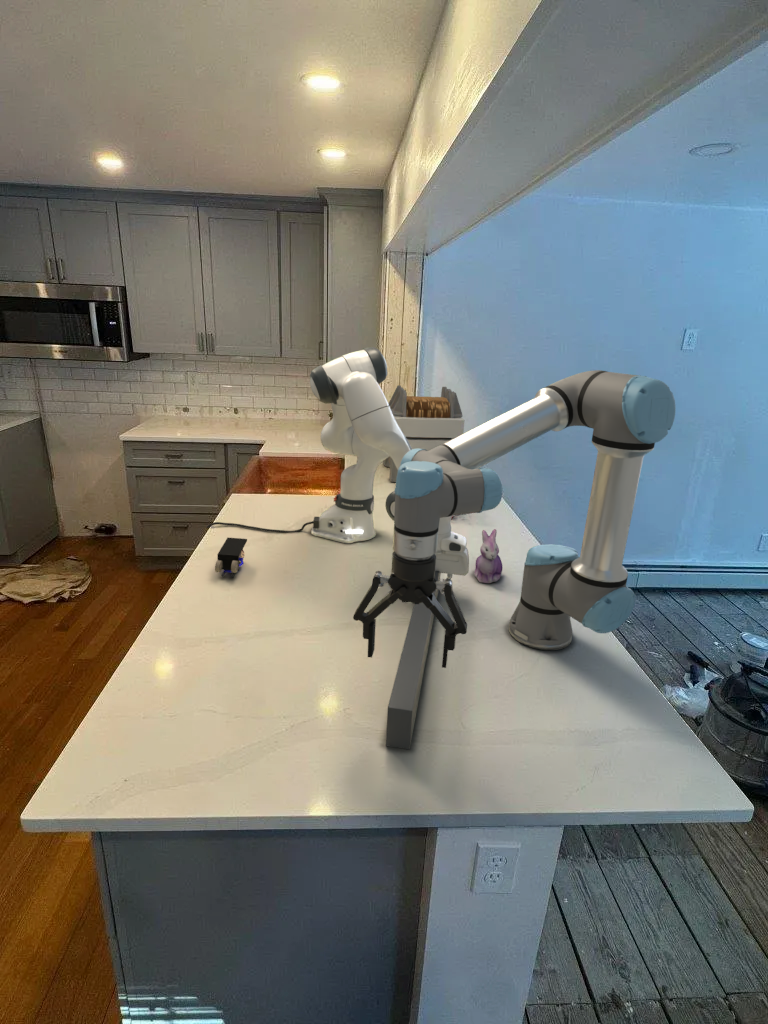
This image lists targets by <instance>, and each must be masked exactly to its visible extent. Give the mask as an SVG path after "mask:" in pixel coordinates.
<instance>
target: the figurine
mask: <svg viewBox="0 0 768 1024" xmlns="http://www.w3.org/2000/svg"><path fill="white" fill-rule="evenodd" d="M497 531H498V530H497V528H494V529H493V530H492V531H491V532H490V535H489V534H488V532H487V531H486V530H485V529H482V531H481V536H482V537H481V538H482V539H481V540H482V543H481V545H480V548H479V549H480V550H479V551H480V555H479V556H478V557H477V558H476V559H475V567H474V578H476V579H477V581H478V582H480V583H484V584H492V583H495V582H496V583H497V581H499V580H500V578H501V576H502V572H503V562H502V559H501V556H499V553H500V547H499V545H498V543H497V541H496V540H497V534H498V533H497Z"/></svg>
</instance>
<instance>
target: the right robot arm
mask: <svg viewBox="0 0 768 1024" xmlns="http://www.w3.org/2000/svg"><path fill="white" fill-rule="evenodd" d="M675 418H676V399H675V396H674V393H673V392H672V391H671V389H670V387H669V385H668V384H667V383H665V382H664V381H662V380H660V379H656V378H652V377H648V376H646V375H640V374H639V375H638V374H630V373H622V372H612V371H608V370H601V369H596V370H594V369H593V370H586V371H582V372H578V373H575V374H573V375H569V376H567V377H564V378H562V379H559V380H557V381H555V382H553V383H551V384H549V385H547V386H545V387H543V388H540V389H539V390H538V391H537V392H536V393H535V395H534V397H533V398H532V399H530V400H527V401H525V402H523V403H521V404H519V405H518V406H516V407H513V408H512V409H509V410H508V411H505V412H504V413H501V414H499V415H497V416H496V417H493V418H492V419H490V420H488V421H486V422H484V423H481V424H480V425H477V426H476V427H474V428H472V429H470V430H468V431H466V432H463V434H462V435H460V436H458V437H456V438H454V439H452V440H450V441H448V442H446V443H444V444H442V445H440V446H437V447H435V448H433V449H431V450H429V451H428V450H426V449H419V448H418V449H412V450H410V451H409V452H407V453H406V454H405V455H404V457H403V458H402V461H401V464H400V467H399V469H398V473H397V478H396V482H395V487H394V490H395V515H394V521H393V536H392V550H393V552H392V554H391V571H390V575H388V574H383V572H382V571H381V570H376V571H375V573H374V575H373V578H372V582H371V585H370V587H369V588H368V590H367V592H366V594H365V595H364V597H363V598H362V600H361V601H360V602H359V604H358V606H357V608H356V609H355V612H354V614H353V616H352V618H353V620H354V621H356V622H357V621H359V622H361V623H362V638H363V640H368V641H367V658H370V659H371V658H373V655H374V653H375V643H376V624H377V623H376V622H377V621H376V620H377V619H376V618H377V617H379V616H380V615H381V614H382V613H383V612H384V611H385V610H386V609H388V608H389V607H390V606H391V605H393V604H394V603H396V602H397V601H398V600H399V601H400V602H401V603H403V604H404V603H406V604H407V603H412V604H413V605H414V604H419V603H422V602H423V603H424V605H425V606H426V607H427V608H428V609H430V610H431V612H432V613H433V614H434V618H435V619H436V620H437V621H438V622H439V623H440V625H441V626H442V628H443V629H444V630H445V631H444V637H443V648H442V659H441V660H442V662H441V668H444V669H447V664H448V663H447V662H448V655H449V654H448V653H449V651H454V650H455V648H456V647H455V646H456V637H457V635H459V634H461V635H466V634H467V632H468V631H467V629H468V623H467V620H466V618H465V616H464V613H463V611H462V609H461V606H460V605H459V603H458V600H457V598H456V596H455V593H454V591H453V580H452V578H451V579H447V580H446V581H443V580H442V581H441V580H440V581H436V580H435V565H436V555H435V553H436V552H437V541H438V528H439V521H440V518H442V517H449V516H453V517H455V516H462V515H463V516H464V515H469V514H481V513H482V512H485V511H490V510H493V509H495V508H497V507H498V506H499V504H500V503H501V501H502V497H503V491H504V488H503V483H502V479H501V478H500V476H499V474H498V473H497V472H496V471H495V470H494V469H492V468H484V466H485V465H488V464H490V463H492V462H494V461H495V460H497V459H499V458H502V456H505V455H506V454H508V453H511V452H513V451H514V450H516V449H518V448H520V447H522V446H524V445H526V444H528V443H530V442H531V441H533V440H535V439H538V438H539V437H541V436H543V435H545V434H547V433H548V432H550V431H552V432H560V431H563V430H565V429H566V428H570V427H587V428H589V429H592V434H591V435H592V436H591V443H592V445H593V447H595V449H596V450H597V454H596V459H595V466H594V472H593V476H592V477H593V479H592V484H591V489H590V496H589V502H588V507H587V514H586V519H585V525H584V531H583V537H582V542H581V547H580V548H581V550H580V555H579V552H578V551H577V550H576V549H575V548H573V547H570V546H567V545H562V544H554V543H553V544H552V543H551V544H550V543H548V544H537V545H535V546H532V547H531V548H529V550H527V553H526V558H525V561H524V566H523V574H522V580H521V581H522V584H521V591H520V599H519V603H518V604H517V606H516V607H515V610H514V612H513V613H512V615H511V617H510V620H509V623H508V632H509V634H510V635H511V637H512V638H513V639H514V640H515V641H517V642H519V643H520V644H521V645H524V646H525V647H529V648H533V649H536V650H540V651H557V650H562V649H565V648H567V647H569V646H570V644H571V643H572V640H573V628H572V621H571V618H572V619H573V620H575V621H577V622H578V623H580V624H581V626H582V627H584V628H587V629H589V630H592V631H593V632H595V633H597V634H608V633H612V632H613V631H615V630H617V629H618V628H620V627H621V626H622V625H623V624H624V623H625V622H626V621H627V620H628V618H629V617H630V616H631V614H632V612H633V611H634V608H635V605H636V597H637V596H636V594H635V592H634V591H633V590H632V588H630V587H629V586H627V583H628V578H629V572H628V570H627V568H626V567H625V566H624V564H623V563H624V558H625V552H626V548H627V543H628V537H629V534H630V533H629V532H630V528H631V522H632V518H633V517H632V516H633V512H634V509H635V508H634V507H635V502H636V496H637V493H638V487H639V481H640V477H641V472H642V467H643V461H644V458H645V456H646V455H647V454H649V453H651V452H652V451H654V449H655V445H656V443H658V442H661V441H662V440H663V439H665V438H666V437H667V436H668V434H669V432H668V431H670V430H671V429H672V427H673V425H674V422H675ZM482 467H483V468H482ZM385 584H387V585H388V586H389V588H390V591H389V592H388V593H387V594H386V595H385V596H383V598H381V599H380V600H378V602H377V603H376V604H375V605H373V606H372V608H370V609H369V610H368V611H366V610H367V608H368V607H369V605H370V604H371V602H372V600H373V598H374V597H375V595H376V594H377V592H378V590H379V588H382V587H384V586H385ZM436 589H439V593H440V594H441V595H443V596H444V599H445V601H446V605H447V607H448V609H449V612H450V613H451V616H452V617H451V616H450V615H449V613H447V611H446V610H445V609H444V607H443V606H442V605H441V604H440V602H439V601H438V599H437V600H436V598H435V596H434V594H433V592H434V591H435V590H436ZM365 611H366V612H365Z"/></svg>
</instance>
